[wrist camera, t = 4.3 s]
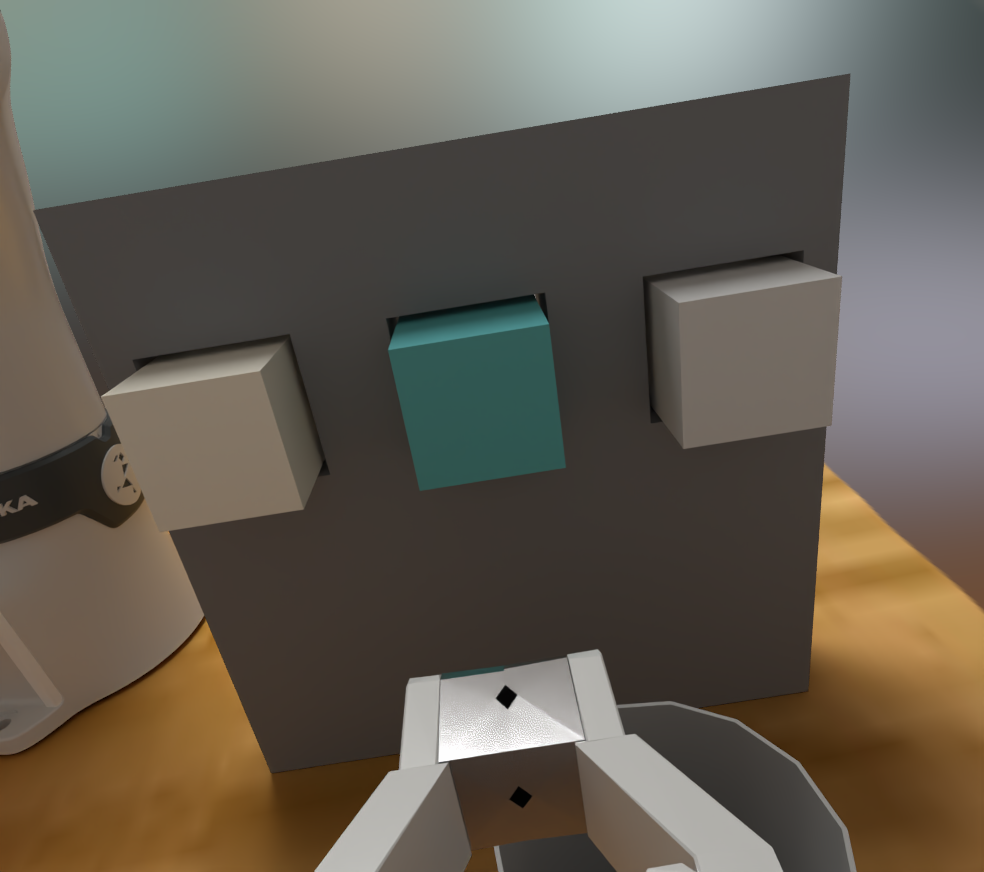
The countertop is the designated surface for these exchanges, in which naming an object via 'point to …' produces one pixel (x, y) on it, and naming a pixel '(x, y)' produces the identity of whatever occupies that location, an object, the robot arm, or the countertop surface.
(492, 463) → the teal push-block
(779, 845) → the cup
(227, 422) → the cream push-block
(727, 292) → the light grey push-block
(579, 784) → the robot arm
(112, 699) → the countertop surface
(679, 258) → the button panel
